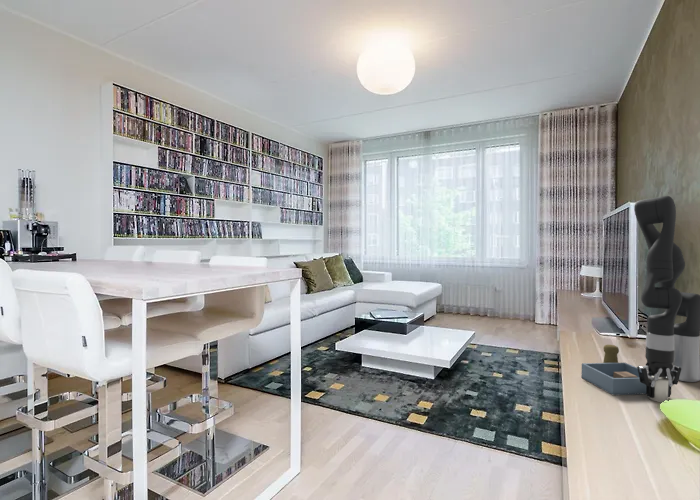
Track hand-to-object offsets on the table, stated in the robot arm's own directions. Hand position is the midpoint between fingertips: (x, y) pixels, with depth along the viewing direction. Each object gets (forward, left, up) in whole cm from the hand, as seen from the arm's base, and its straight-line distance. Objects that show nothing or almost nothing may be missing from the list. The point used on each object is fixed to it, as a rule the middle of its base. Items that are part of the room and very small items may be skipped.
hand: (658, 396), depth 131 cm
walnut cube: (+5, -9, 0) cm, 10 cm away
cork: (-3, -26, -1) cm, 26 cm away
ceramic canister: (0, 0, -1) cm, 1 cm away
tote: (+4, -13, -1) cm, 13 cm away
